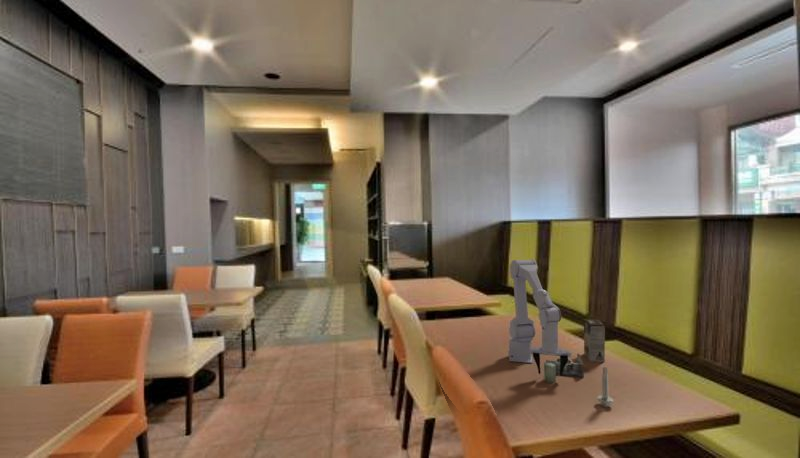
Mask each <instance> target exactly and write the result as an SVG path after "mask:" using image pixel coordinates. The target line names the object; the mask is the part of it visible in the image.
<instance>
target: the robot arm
mask: <svg viewBox="0 0 800 458" xmlns="http://www.w3.org/2000/svg"><path fill="white" fill-rule="evenodd" d="M538 269H539V266H538V264H537V261H536V260H535V259H519V260H518V259H517V260H516V259H513V260H512V261H511V262H510V265H509V273H510V274H509V275H510V279H512V280H513V292H514V305H515V306H514V308H515V317H513V318H512V319H511V320H510V321H509V329H508V331H509V335H510V338H509V337H508V357H509V358H508V359H509V361H510V362H517V363H526V364H533V359H534V362H535V365H536V367H537V372H538V374H539V375H540V374H541V357H540V356H541V355H542V356H543V355H545V356H553V357H554V356H556V357H559V358H560V375H559V376H560V377H563V375H562V374H563V370H564V367H565V365H566V363H567V362H568V359H569V358H570V359H571V358H572V352H571V350H565V349H560V348H559V322H560V321H561V320H562V312H561V309H560V308H559V307H558V306H557V305H556V304H555V303H553V301H552V299H551V297H550V295H549V293H548V291H547V290H545V289H543V286H542V284H541V282H540V279H539V276H538ZM526 281H527V283H528V285H529V286H530V288H531V290H532V291H533V295H532V298H533V300H534V302H535V304H536V306H537V308H538V318H539V319H538V320H539V324H540V327H541V347H540V346H539V347H532V341H533V338H535V336H536V333H537V332H536V327H535V323H534V321H533V319H532V318H530V317H529V316H528V315H529V314H528V298H527V285H526V284H527V283H526Z"/></svg>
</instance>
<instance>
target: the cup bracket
mask: <svg viewBox="0 0 800 458" xmlns="http://www.w3.org/2000/svg"><path fill="white" fill-rule="evenodd" d="M545 363H552V364H555V365H556V376H560V357H558V358H557V357H556V358H555V359H554V360H551V359H550V360H549V359H548V360H547V359H545ZM584 372H585V370H584V363H583V360H582V357H581V355H580V353H577V354H576V362H574V361H573V360H572V359H571V358H570V359H569V358H568V362H567V363H566V365H565V367H564V370H563V374H562V377H563V376H566V377H572V378H573V377H574V378H575V377H576V378H585V377H584V374H585V373H584Z"/></svg>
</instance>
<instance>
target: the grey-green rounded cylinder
mask: <svg viewBox="0 0 800 458" xmlns="http://www.w3.org/2000/svg"><path fill="white" fill-rule="evenodd" d="M543 366H544V369H543V371H544V372H543V373H544V376H543V377H544V381H545V382H547V383H550V384H551V383H552V384H553V383H556V382H557V378H556V377H557V375H556V365H555V364H552V363H546V362H545V363H544V364H543Z"/></svg>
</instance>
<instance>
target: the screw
mask: <svg viewBox="0 0 800 458" xmlns="http://www.w3.org/2000/svg"><path fill="white" fill-rule="evenodd" d="M596 399H597V401H598V402H600V405H601V406H602V407H604V408H610V405H611V404H613V403H614V399H613V398H612V397H611V396H609V374H608V367H606V366H603V368H602V375H601V394H599V395H598V396H596Z"/></svg>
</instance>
